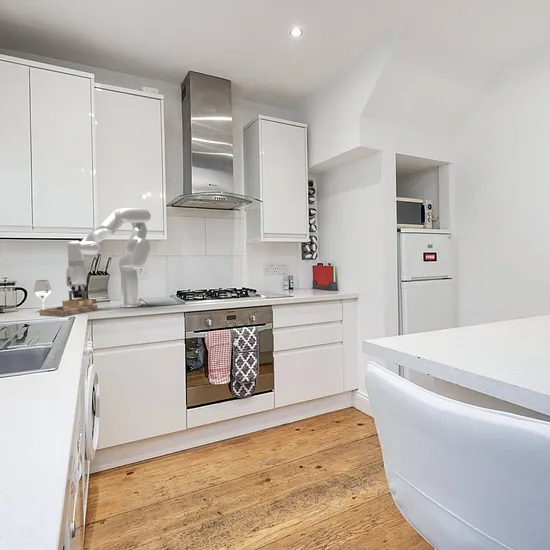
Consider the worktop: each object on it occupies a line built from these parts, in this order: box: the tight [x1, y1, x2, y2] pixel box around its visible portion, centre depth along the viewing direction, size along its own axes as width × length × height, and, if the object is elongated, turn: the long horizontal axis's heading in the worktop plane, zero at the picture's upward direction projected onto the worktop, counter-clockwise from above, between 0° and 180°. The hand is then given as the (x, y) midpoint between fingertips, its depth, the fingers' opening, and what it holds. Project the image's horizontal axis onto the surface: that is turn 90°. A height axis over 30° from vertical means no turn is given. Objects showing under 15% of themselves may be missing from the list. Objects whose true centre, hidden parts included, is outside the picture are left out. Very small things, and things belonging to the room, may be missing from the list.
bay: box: [39, 304, 98, 318], centre depth 200 cm, size 22×16×4 cm
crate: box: [62, 290, 94, 311], centre depth 205 cm, size 10×11×11 cm
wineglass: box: [33, 279, 52, 309], centre depth 207 cm, size 8×8×18 cm
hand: (77, 297), depth 205 cm, fingers closed on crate, 2 cm apart
